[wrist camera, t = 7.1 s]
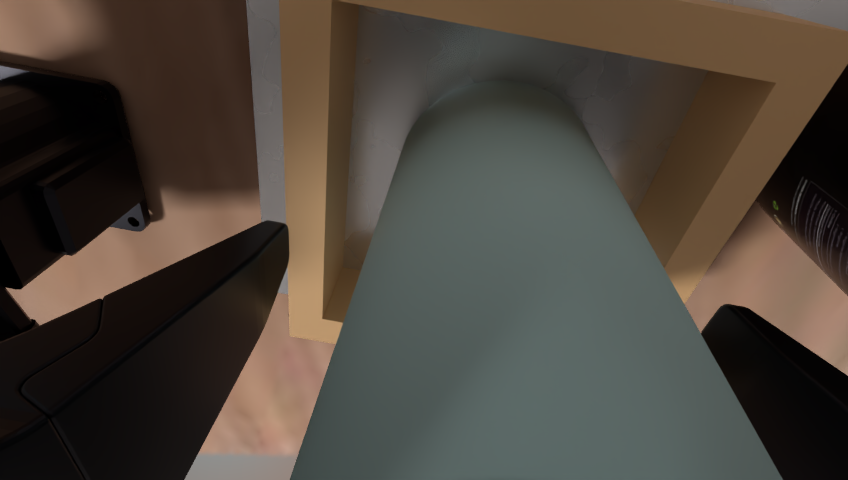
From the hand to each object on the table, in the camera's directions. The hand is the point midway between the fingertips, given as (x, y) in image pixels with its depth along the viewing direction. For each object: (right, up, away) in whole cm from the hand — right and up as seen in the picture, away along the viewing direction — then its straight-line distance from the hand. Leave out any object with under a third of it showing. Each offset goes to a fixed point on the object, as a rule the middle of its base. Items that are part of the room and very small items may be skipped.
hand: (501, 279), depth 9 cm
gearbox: (+1, +5, +7) cm, 8 cm away
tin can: (0, +3, +4) cm, 5 cm away
